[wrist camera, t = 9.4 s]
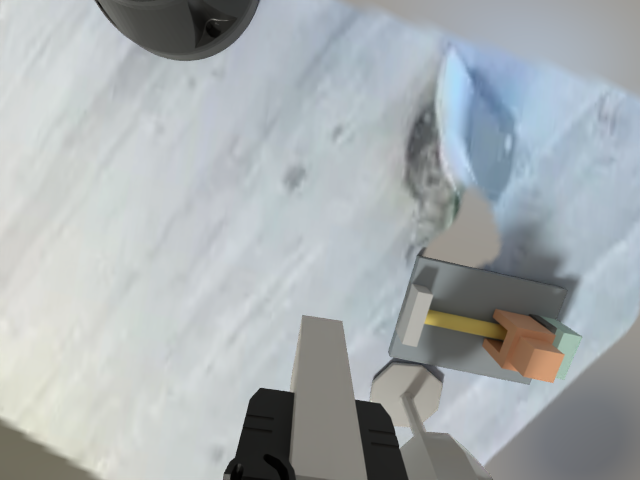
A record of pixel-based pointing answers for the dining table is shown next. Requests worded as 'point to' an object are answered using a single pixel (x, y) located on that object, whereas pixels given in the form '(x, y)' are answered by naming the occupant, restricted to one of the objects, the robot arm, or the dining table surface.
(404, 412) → the wineglass
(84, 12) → the dining table surface
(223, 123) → the dining table surface
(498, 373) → the linear slide rail
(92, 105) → the dining table surface
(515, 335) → the sleeve
